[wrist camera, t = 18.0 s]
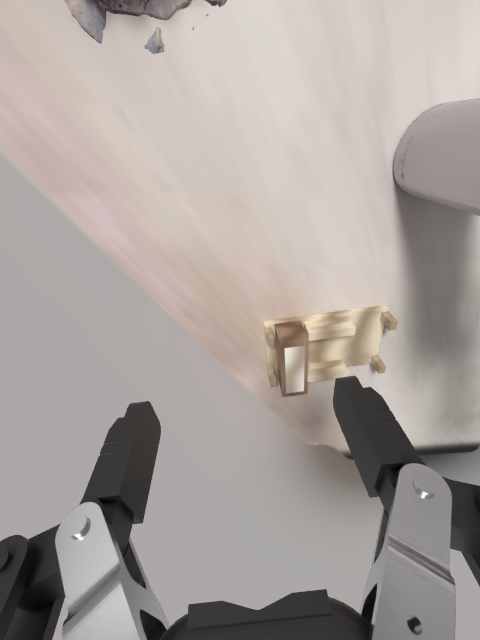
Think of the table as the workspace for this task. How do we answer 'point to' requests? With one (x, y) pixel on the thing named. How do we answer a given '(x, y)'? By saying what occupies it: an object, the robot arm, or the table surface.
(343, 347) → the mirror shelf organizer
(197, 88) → the table surface
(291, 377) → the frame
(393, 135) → the table surface
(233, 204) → the table surface
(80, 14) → the grey rough lump
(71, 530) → the robot arm
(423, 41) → the table surface
